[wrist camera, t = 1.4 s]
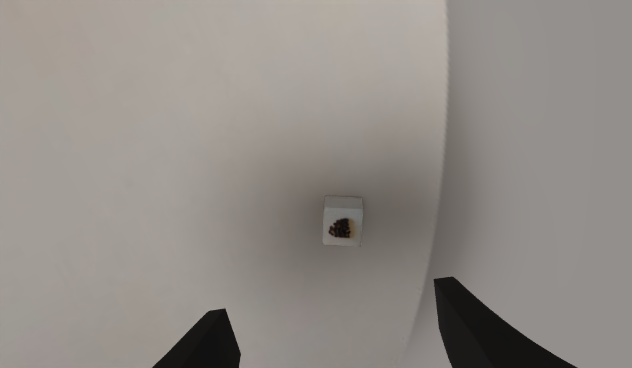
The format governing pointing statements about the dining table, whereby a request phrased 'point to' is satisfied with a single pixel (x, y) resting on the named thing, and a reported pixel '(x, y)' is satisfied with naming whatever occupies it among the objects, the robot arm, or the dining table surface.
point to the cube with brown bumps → (342, 221)
